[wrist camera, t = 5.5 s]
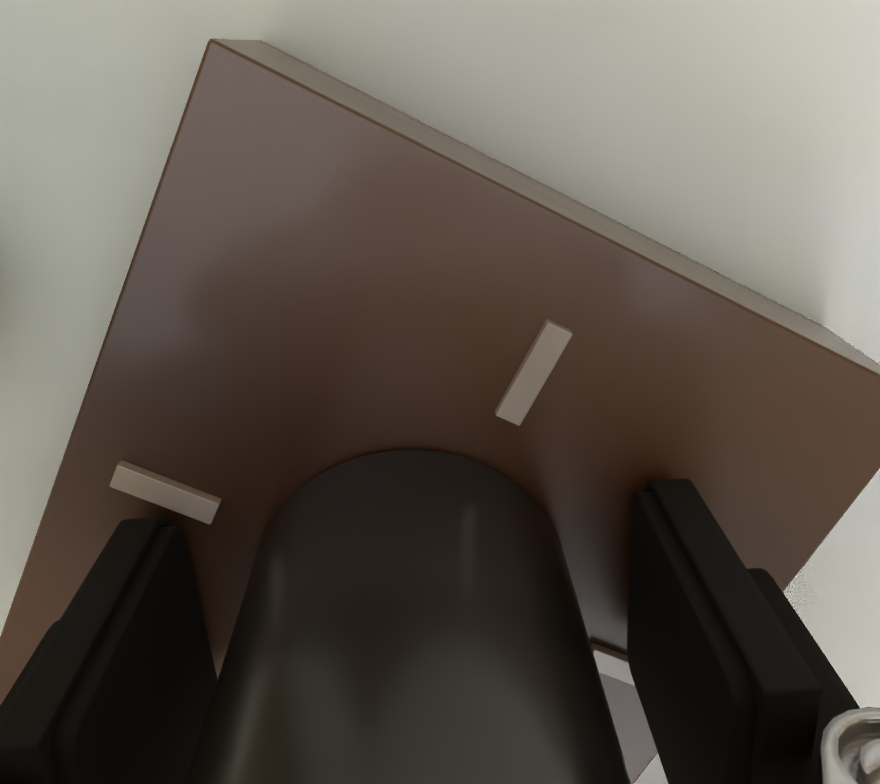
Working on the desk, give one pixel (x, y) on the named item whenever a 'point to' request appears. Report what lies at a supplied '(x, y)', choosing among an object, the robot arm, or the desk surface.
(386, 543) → the knob
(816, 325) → the panel
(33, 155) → the desk surface
